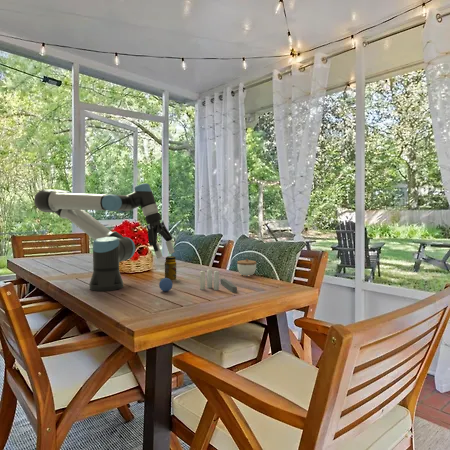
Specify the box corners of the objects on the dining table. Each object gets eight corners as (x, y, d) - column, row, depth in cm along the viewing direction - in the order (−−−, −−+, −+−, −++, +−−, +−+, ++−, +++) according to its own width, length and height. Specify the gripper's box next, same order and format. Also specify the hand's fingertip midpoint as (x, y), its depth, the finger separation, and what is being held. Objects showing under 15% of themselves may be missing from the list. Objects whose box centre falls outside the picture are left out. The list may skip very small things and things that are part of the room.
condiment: (179, 280, 196) (179, 257, 196) (164, 281, 192) (164, 258, 191) (173, 277, 203) (173, 255, 202) (158, 279, 198) (158, 256, 197)
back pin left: (207, 288, 177) (207, 270, 176) (206, 287, 179) (206, 269, 179) (212, 288, 177) (212, 270, 177) (211, 287, 180) (211, 269, 179)
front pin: (200, 290, 173) (200, 271, 173) (199, 288, 175) (199, 270, 175) (205, 289, 174) (205, 271, 173) (204, 288, 176) (204, 270, 176)
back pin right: (214, 290, 172) (214, 272, 172) (213, 289, 175) (213, 271, 174) (219, 290, 173) (219, 271, 173) (218, 289, 175) (218, 271, 175)
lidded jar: (240, 277, 205) (240, 260, 204) (234, 273, 215) (234, 257, 215) (258, 276, 208) (259, 259, 207) (252, 273, 218) (252, 257, 217)
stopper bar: (232, 292, 168) (232, 287, 168) (220, 283, 187) (220, 278, 187) (236, 292, 169) (236, 287, 169) (224, 283, 188) (224, 278, 188)
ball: (159, 293, 166) (159, 279, 166) (158, 290, 172) (158, 277, 172) (173, 292, 168) (173, 279, 168) (171, 289, 174) (171, 276, 173)
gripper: (145, 213, 171) (161, 257, 170) (169, 210, 194) (183, 249, 194) (132, 218, 173) (147, 262, 172) (157, 215, 197) (170, 253, 196)
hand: (166, 255), depth 183 cm, fingers open, 13 cm apart
